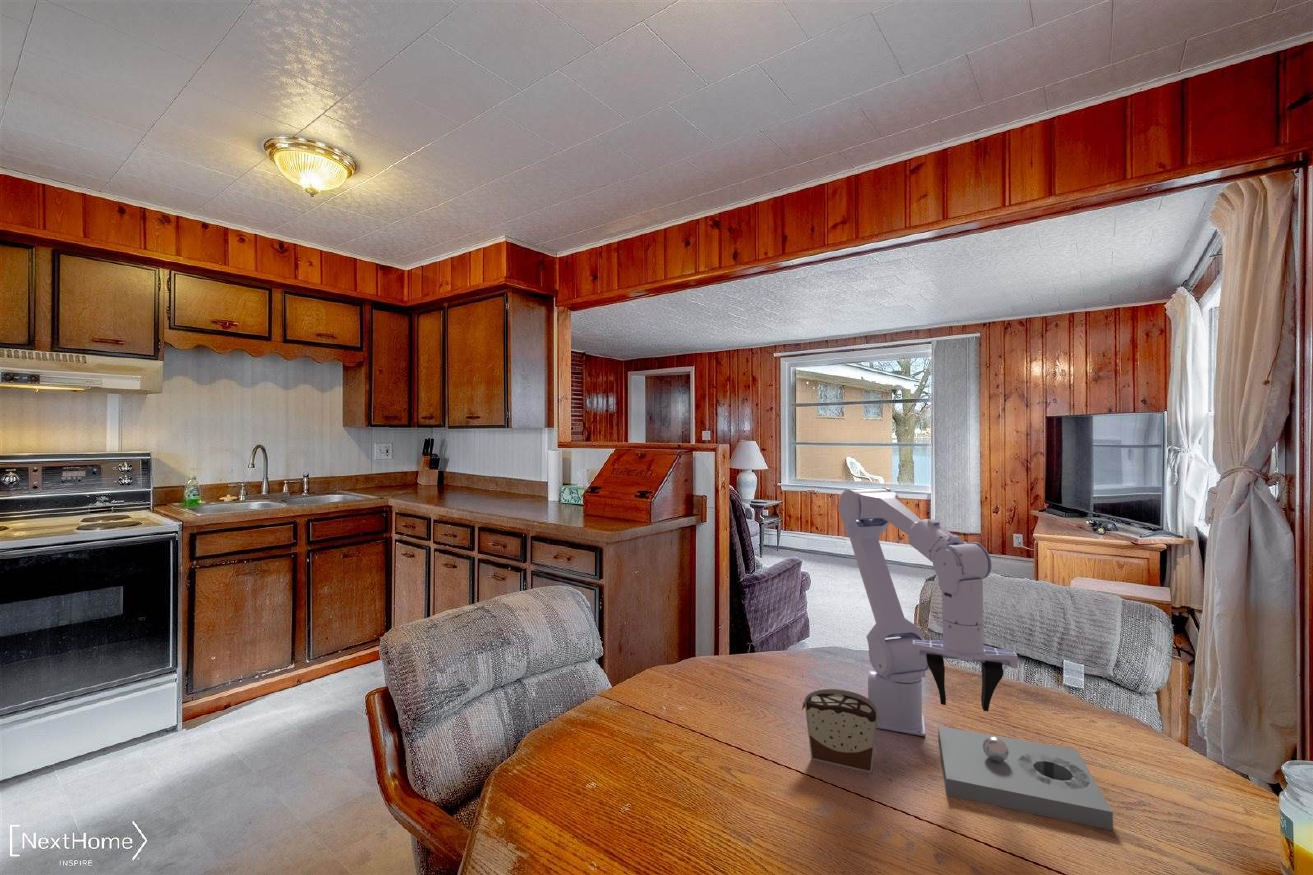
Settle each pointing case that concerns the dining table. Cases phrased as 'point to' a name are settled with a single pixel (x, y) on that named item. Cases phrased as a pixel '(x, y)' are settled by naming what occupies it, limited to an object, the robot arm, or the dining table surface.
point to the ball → (995, 749)
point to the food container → (841, 728)
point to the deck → (1023, 778)
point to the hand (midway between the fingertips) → (963, 705)
